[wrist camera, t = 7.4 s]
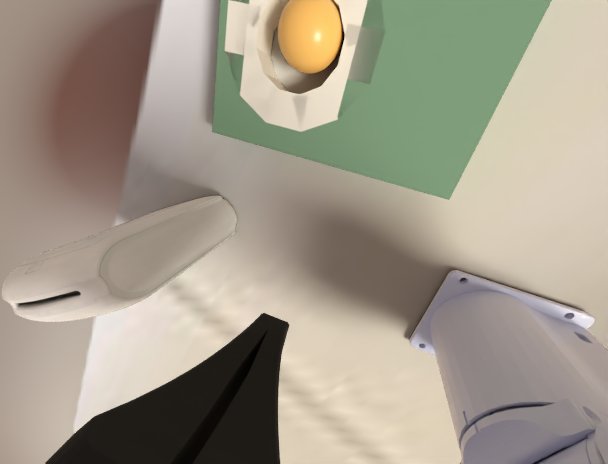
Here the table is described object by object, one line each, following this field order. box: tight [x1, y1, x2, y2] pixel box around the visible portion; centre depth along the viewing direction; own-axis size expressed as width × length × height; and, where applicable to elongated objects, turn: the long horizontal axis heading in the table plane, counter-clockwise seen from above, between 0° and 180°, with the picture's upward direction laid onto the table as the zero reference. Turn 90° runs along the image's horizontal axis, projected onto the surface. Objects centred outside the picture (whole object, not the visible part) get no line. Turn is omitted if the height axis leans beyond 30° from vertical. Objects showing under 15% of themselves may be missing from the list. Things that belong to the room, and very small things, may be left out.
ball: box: [278, 0, 342, 74], centre depth 14 cm, size 4×4×4 cm
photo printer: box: [2, 196, 237, 322], centre depth 18 cm, size 10×4×12 cm, turn 108°
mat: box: [212, 0, 551, 200], centre depth 14 cm, size 16×12×2 cm
